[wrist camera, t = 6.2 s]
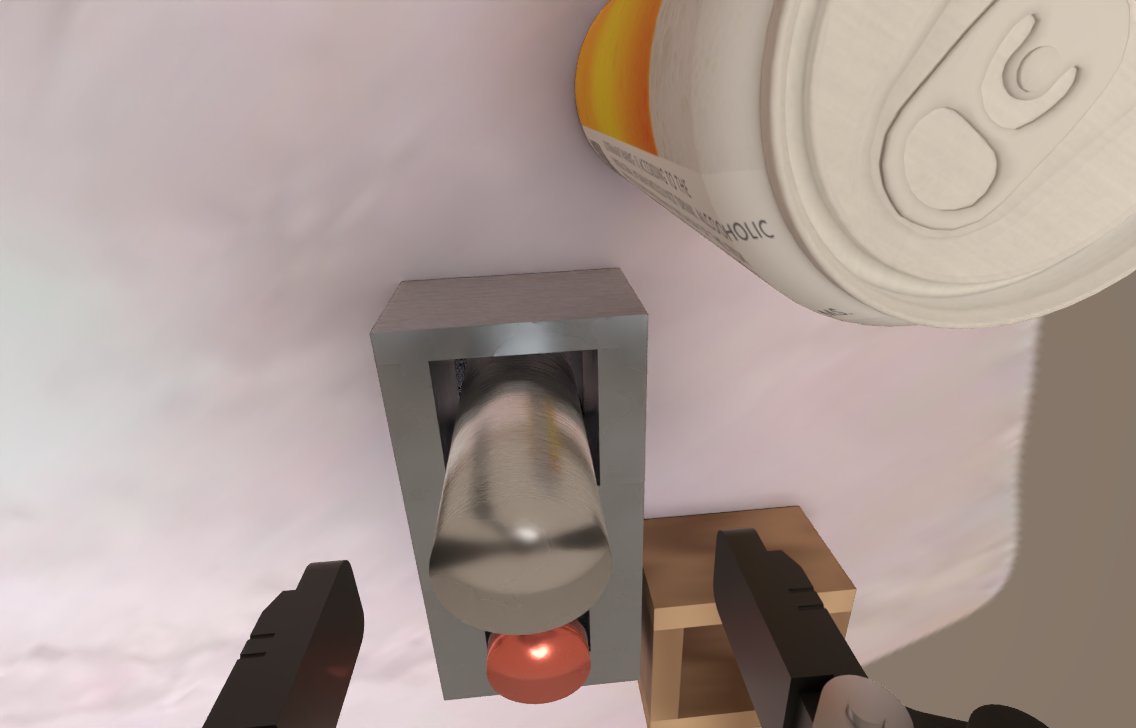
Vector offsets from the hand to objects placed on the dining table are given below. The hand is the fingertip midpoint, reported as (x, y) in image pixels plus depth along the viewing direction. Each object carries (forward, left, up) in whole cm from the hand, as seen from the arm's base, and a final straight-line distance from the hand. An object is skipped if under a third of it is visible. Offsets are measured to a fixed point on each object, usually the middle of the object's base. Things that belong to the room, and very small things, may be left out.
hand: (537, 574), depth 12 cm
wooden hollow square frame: (+8, -12, -11) cm, 18 cm away
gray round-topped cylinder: (0, 0, -11) cm, 11 cm away
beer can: (+5, +10, -11) cm, 16 cm away
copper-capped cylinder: (0, -8, -10) cm, 13 cm away
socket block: (0, -4, -11) cm, 12 cm away
